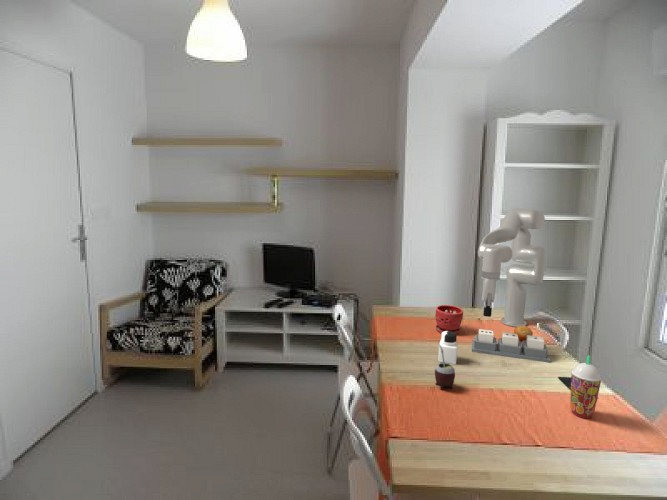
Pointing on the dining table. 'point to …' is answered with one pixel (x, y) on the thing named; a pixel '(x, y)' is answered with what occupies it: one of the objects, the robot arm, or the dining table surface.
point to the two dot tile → (510, 339)
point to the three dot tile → (485, 336)
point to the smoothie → (584, 389)
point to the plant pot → (448, 318)
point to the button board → (510, 350)
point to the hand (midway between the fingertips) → (487, 315)
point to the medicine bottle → (448, 347)
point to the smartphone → (566, 381)
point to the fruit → (522, 332)
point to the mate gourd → (444, 374)
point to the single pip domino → (535, 342)
